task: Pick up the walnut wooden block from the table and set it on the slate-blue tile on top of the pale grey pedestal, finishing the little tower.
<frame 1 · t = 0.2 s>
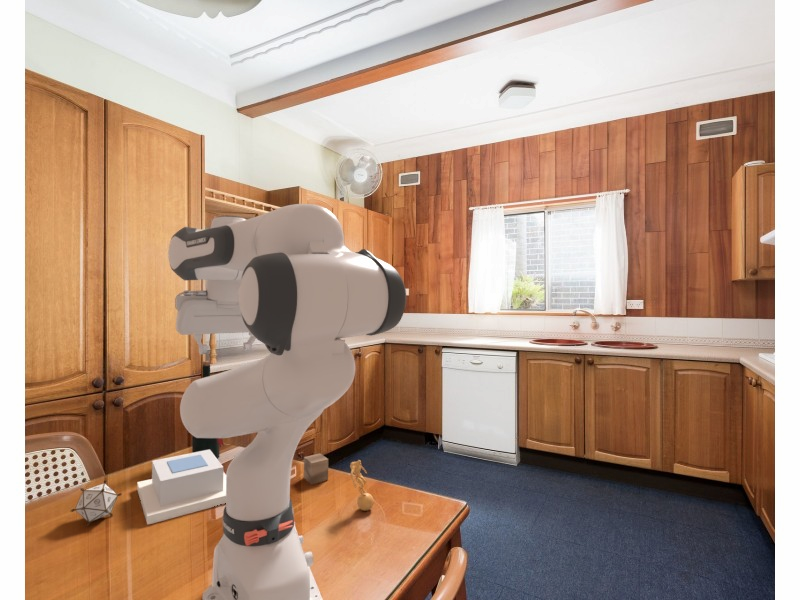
hand: (225, 352, 97), 39 cm above the table, tool pointing down, fingers open, 8 cm apart
pedestal: (187, 494, 111), on the table
walnut block: (315, 479, 121), on the table
figurine: (361, 509, 106), on the table
wine bottle: (208, 459, 134), on the table
game die: (96, 520, 99), on the table
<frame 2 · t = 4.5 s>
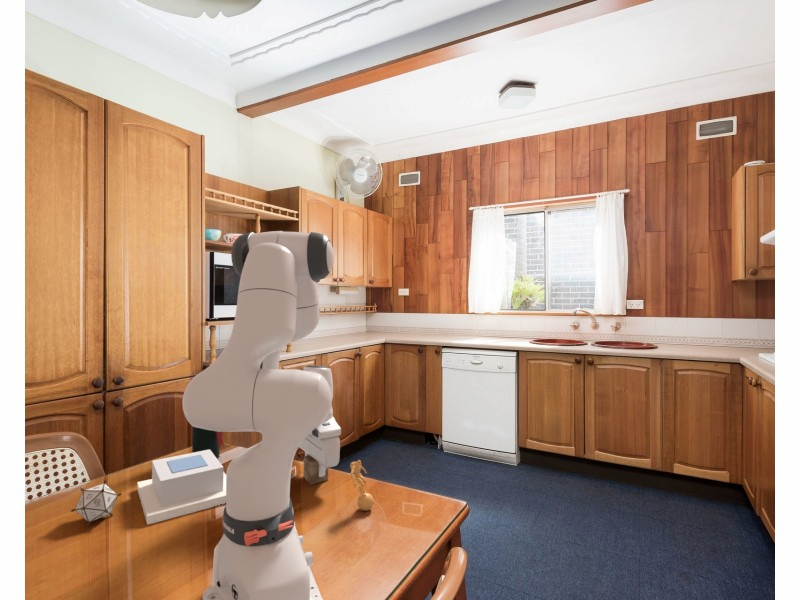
hand: (315, 471, 121), 2 cm above the table, tool pointing down, fingers closed on walnut block, 5 cm apart
walnut block: (315, 479, 121), on the table, touching gripper
everything else where it was.
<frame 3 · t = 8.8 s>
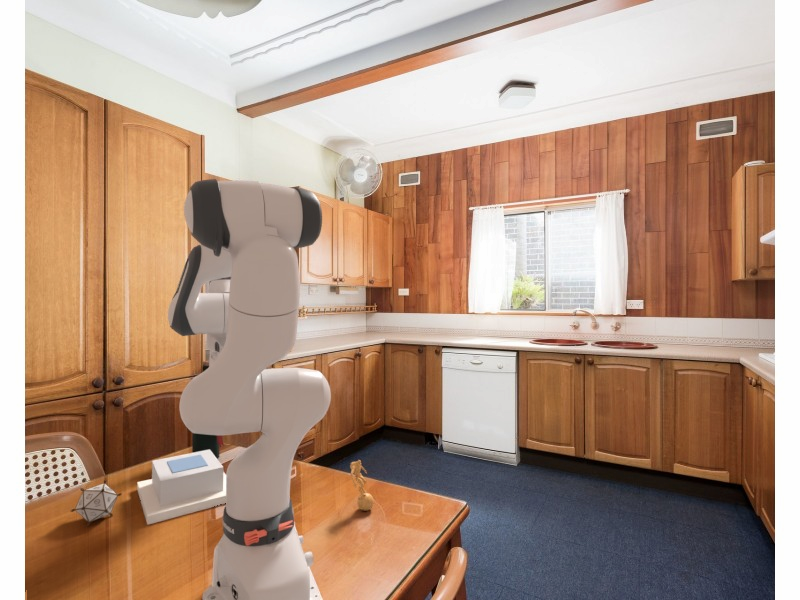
hand: (224, 394, 113), 25 cm above the table, tool pointing down, fingers closed on walnut block, 5 cm apart
walnut block: (224, 402, 113), point 23 cm above the table, touching gripper
everything else where it was.
when the fingers open (11 cm above the table, at t = 13.0 s): walnut block drops 1 cm, resting on pedestal.
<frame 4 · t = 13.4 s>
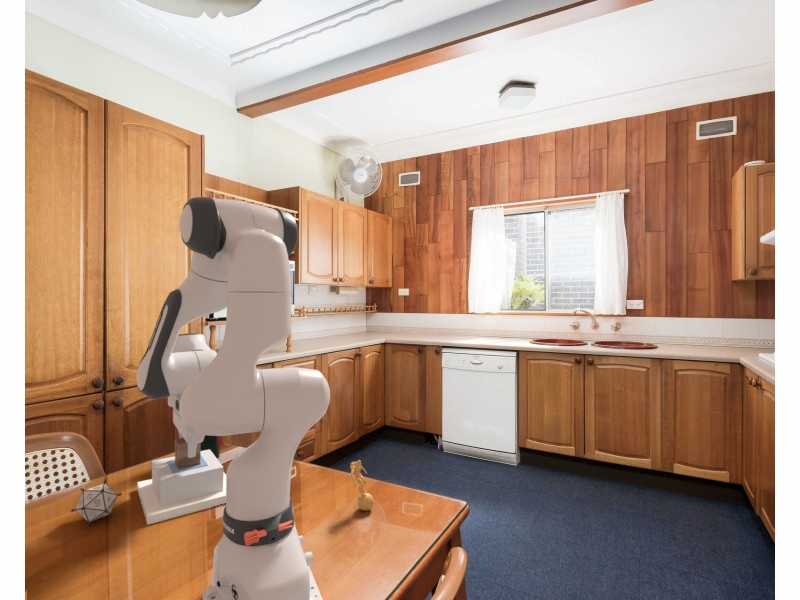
hand: (187, 450, 110), 11 cm above the table, tool pointing down, fingers open, 8 cm apart
walnut block: (187, 463, 111), point 8 cm above the table, touching pedestal
everything else where it was.
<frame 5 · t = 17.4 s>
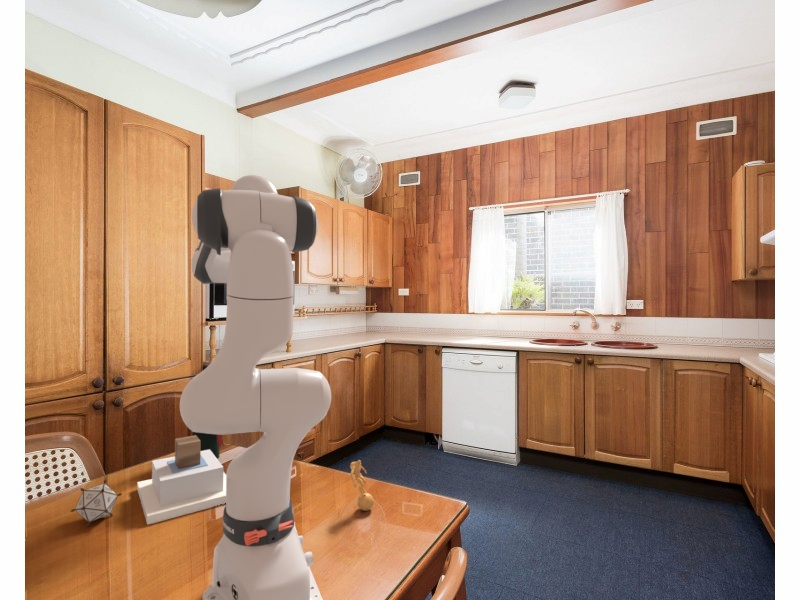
hand: (242, 342, 126), 37 cm above the table, tool pointing down, fingers open, 8 cm apart
nothing on the table moved.
at the end: walnut block 0.1 cm off-centre on the pedestal, point 8.2 cm above the pedestal's base; walnut block tilted 0°; the gripper is holding nothing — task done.
